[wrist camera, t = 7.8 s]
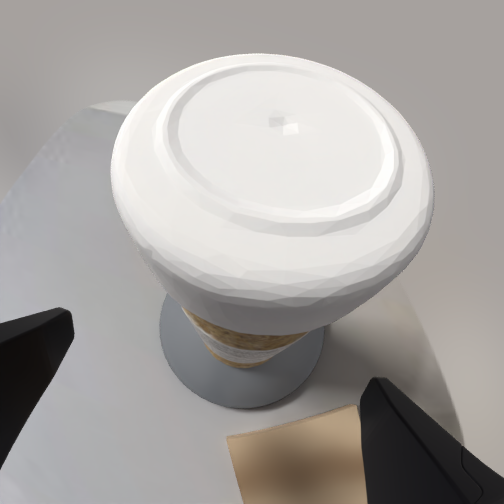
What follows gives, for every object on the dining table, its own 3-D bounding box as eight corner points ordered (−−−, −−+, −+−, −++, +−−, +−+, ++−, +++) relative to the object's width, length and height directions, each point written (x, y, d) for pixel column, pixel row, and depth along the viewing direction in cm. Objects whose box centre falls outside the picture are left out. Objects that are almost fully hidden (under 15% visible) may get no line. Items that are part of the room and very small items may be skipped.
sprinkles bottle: (229, 273, 17) (233, 27, 5) (300, 313, 16) (452, 121, 4) (183, 340, 15) (36, 172, 3) (258, 386, 14) (394, 393, 2)
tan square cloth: (369, 500, 12) (376, 505, 11) (254, 535, 11) (256, 542, 10) (349, 404, 15) (356, 405, 14) (226, 436, 14) (226, 439, 13)
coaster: (327, 400, 15) (330, 400, 14) (161, 405, 14) (159, 406, 13) (312, 252, 18) (314, 248, 18) (166, 253, 18) (164, 249, 17)
